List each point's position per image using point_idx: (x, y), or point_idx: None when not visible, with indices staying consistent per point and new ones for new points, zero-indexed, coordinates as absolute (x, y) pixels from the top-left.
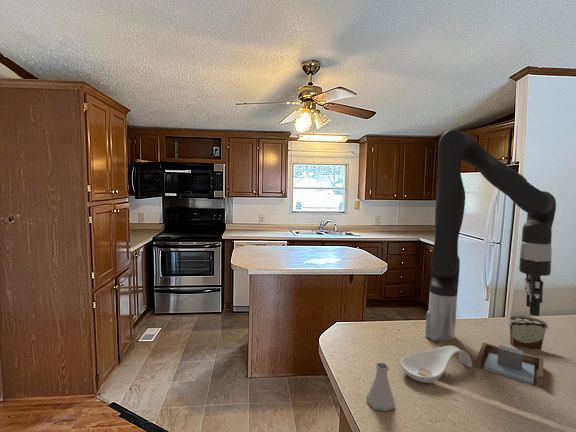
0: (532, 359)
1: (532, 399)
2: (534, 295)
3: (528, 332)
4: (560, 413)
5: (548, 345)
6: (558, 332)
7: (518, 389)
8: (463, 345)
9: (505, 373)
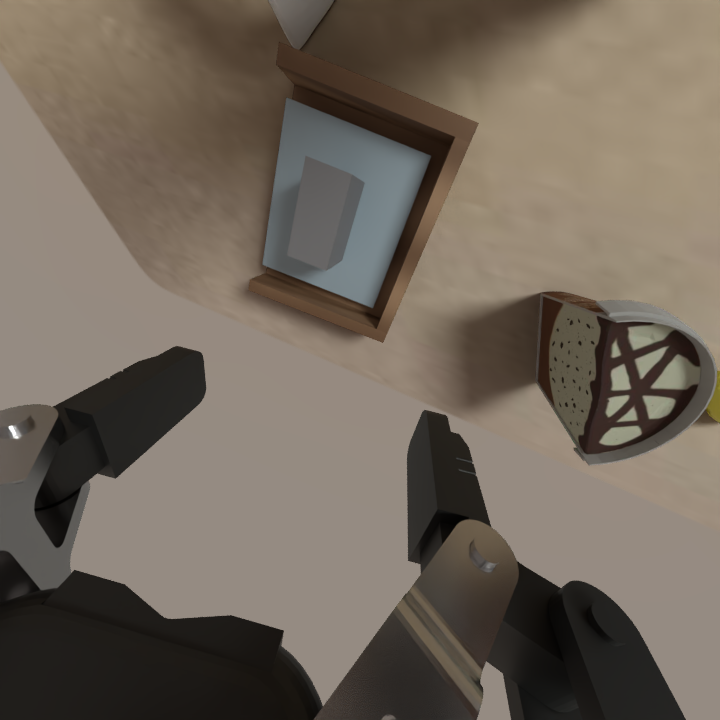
0: (384, 309)
1: (212, 238)
2: (42, 532)
3: (571, 373)
4: (190, 283)
5: None
6: (692, 488)
7: (243, 214)
8: (555, 35)
9: (274, 184)
